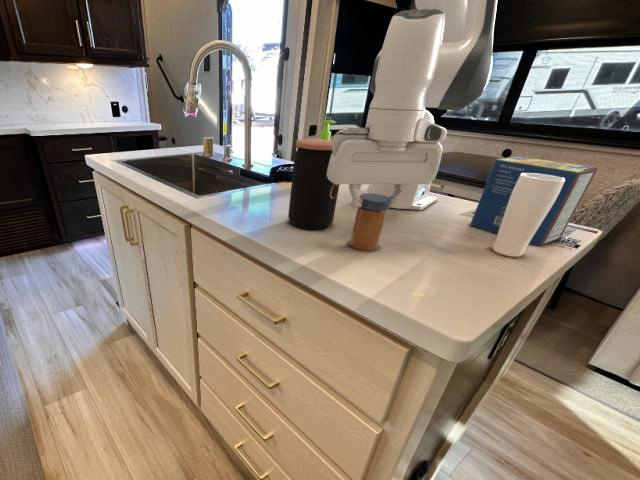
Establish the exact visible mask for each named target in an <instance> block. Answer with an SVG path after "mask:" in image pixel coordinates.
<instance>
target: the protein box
mask: <svg viewBox="0 0 640 480" xmlns="http://www.w3.org/2000/svg"><path fill="white" fill-rule="evenodd" d="M598 170H599V167H597V166H591V165H582V164H575V163H567V162H560V161H552V160H545V159H539V158H538V159H537V158H531V157H525V156H511V157H501V158H496V159H495V160H494V163H493V166H492V168H491V171H490V174H489V176H488V178H487V181H486V184H485V186H484V188H483V191H482V194H481V196H480V198H479V201H478V204H477V206H476V209H475V210H474V213H473V216H472V218H471V221H470V223H469V226H471V227H473V228H478V229H481V230H483V231H487V232H491V233H493V234H496V235H497V234H498V231H499V228H500V225H501V222H502V219H503V216H504V213H505V210H506V207H507V204H508V201H509V199H510V196H511V193H512V191H513V189H514V186H515V184H516V182H517V180H518V178H519V176H520V174H522V173H538V174H546V175H553V176H558V177H561V178H564V179H565V182H564V184H563V187H562V189H561V191H560V193H559V195H558V197H557V199H556V201H555V202H554V204H553V206H552V207H551V209H550V211H549V212H548V214H547V215H546V217H545V219H544V220H543V222H542V223H541V225H540V226H539V228H538V230H537V231H536V233H535V234H534V236H533V238H532V239H531V241H530V242H529V244H531V245H533V246H537V247H540V246H544V245H546V244H549V243H551V242H554V241H556V240H559V239H561V238H562V236H563V235H564V233H565V231H566V228H567V227H568V225H569V223H570V221H571V219H572V217H573V216H574V214H575V212H576V210H577V208H578V206H579V205H580V203H581V201H582V199H583V197H584V196H585V194H586V192H587V190H588V188H589V186H590V184H591V183H592V181H593V179H594V177H595V175H596V173H597V171H598Z"/></svg>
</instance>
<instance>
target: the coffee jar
mask: <svg viewBox="0 0 640 480" xmlns="http://www.w3.org/2000/svg"><path fill="white" fill-rule="evenodd" d="M332 141H333V139H332V140H331V139H330V140H322V139H319V138H305V139H304V138H303V139H298V140H295V146H296V147H297V149H296V151H295V152H294V158H293V167H292V175H291V176H292V178H291V185H290V186H291V187H290V196H289V205H288V216H287V217H288V221H289V223H290V225H292V226H293V227H295V228H298V229H302V230H307V231H322V230H326V229H327V228H329V227H330V226H331V225H332V223H333V222H334V218H335V213H336V208H337V207H336V206H337V201H338V196H339V190H340V185H341V184H333V183H332V182H330V181H329V179H328V178H327V169H328V165H329V161H330V157H331V154H332Z"/></svg>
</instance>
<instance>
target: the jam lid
mask: <svg viewBox="0 0 640 480" xmlns="http://www.w3.org/2000/svg"><path fill="white" fill-rule="evenodd" d="M359 197H360V198H362V199H364V200H363V203H362V208H364V209H368V210H373V211H385V210H387V211H388V210H389V209H390V208H389V205H390V201H391V199H390V198H389V197H387V196H384V195H380V194H373V193H365V194H363V193H361V194H360V195H359Z"/></svg>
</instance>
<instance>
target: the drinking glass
mask: <svg viewBox="0 0 640 480" xmlns="http://www.w3.org/2000/svg"><path fill="white" fill-rule="evenodd" d="M564 182H565V179H564V178H561V177H558V176H553V175H546V174H538V173H522V174H520V176H519V178H518V180H517V182H516V184H515V186H514V189H513V191H512V193H511V196H510V199H509V201H508V204H507V207H506V210H505V213H504V216H503V219H502V222H501V225H500V228H499V231H498V234H497V233H496V236H495V239H494V242H493V244H492V246H491V247H492V251H494V252H495V253H496V254H499V255H501V256H506V257H511V258H513V257H514V258H517V257H518V258H519V257H521V256H523V255H524V253H525V252H526V249H527V248H528V245H529V244H530V243H529V242H530V241H531V239H532V238H533V236H534V234H535V233H536V231H537V230H538V228H539V226H540V225H541V223H542V222H543V220H544V219H545V217H546V215H547V214H548V212H549V211H550V209H551V207H552V206H553V204H554V202H555V201H556V199H557V197H558V195H559V193H560V191H561V189H562V187H563V184H564Z"/></svg>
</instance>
